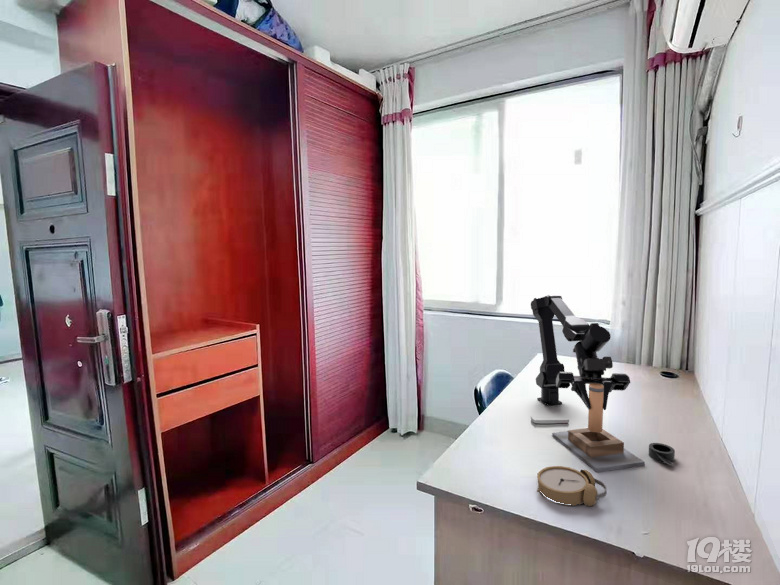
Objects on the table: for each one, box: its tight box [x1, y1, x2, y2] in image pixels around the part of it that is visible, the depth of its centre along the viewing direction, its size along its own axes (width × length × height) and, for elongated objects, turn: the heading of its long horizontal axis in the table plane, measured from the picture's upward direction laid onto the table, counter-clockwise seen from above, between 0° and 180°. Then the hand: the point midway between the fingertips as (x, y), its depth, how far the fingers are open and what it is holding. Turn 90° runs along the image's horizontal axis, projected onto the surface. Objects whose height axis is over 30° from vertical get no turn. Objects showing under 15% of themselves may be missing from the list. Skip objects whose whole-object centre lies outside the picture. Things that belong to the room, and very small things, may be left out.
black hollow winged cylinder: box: [648, 442, 676, 466], centre depth 107 cm, size 8×10×3 cm
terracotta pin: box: [587, 383, 604, 432], centre depth 110 cm, size 4×4×13 cm
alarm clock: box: [536, 465, 608, 507], centre depth 93 cm, size 11×5×15 cm
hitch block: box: [551, 427, 646, 473], centre depth 112 cm, size 20×14×4 cm
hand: (597, 409), depth 109 cm, fingers closed on terracotta pin, 4 cm apart
